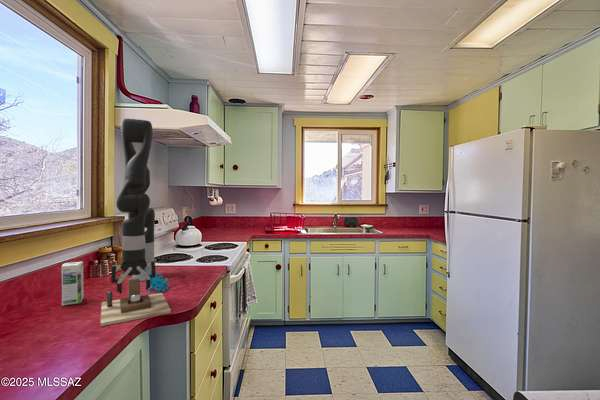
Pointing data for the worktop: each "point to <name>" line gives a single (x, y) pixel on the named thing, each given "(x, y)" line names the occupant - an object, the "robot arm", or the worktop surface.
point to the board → (115, 316)
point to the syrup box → (72, 283)
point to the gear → (158, 283)
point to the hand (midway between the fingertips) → (134, 291)
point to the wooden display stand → (132, 289)
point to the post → (134, 298)
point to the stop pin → (109, 299)
